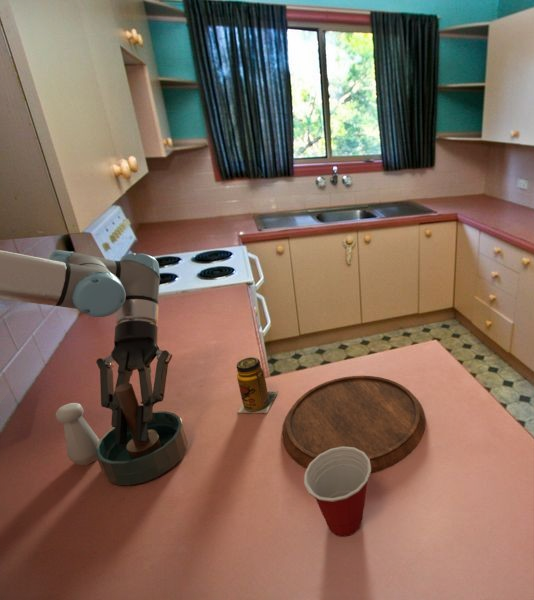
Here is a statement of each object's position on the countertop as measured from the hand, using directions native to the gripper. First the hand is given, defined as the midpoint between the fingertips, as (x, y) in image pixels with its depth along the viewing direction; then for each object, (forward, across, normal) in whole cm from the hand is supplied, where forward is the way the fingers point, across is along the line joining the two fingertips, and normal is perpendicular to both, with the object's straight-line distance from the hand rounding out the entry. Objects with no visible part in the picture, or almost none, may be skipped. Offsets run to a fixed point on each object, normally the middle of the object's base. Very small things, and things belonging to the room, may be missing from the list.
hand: (131, 442), depth 80 cm
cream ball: (-2, +1, -12) cm, 12 cm away
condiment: (-7, -20, -20) cm, 29 cm away
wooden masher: (+2, 0, -7) cm, 7 cm away
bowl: (+2, +1, -10) cm, 10 cm away
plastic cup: (+20, -38, +7) cm, 43 cm away
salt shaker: (0, +13, -12) cm, 18 cm away
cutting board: (+2, -42, -11) cm, 44 cm away
